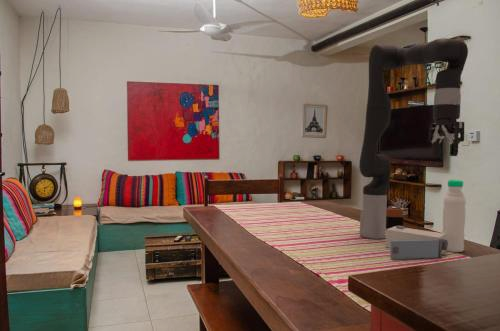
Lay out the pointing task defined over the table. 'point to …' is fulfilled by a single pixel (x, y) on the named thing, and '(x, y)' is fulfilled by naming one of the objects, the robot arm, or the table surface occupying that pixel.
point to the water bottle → (454, 216)
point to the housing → (413, 236)
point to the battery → (394, 217)
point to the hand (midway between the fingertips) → (444, 155)
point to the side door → (416, 249)
